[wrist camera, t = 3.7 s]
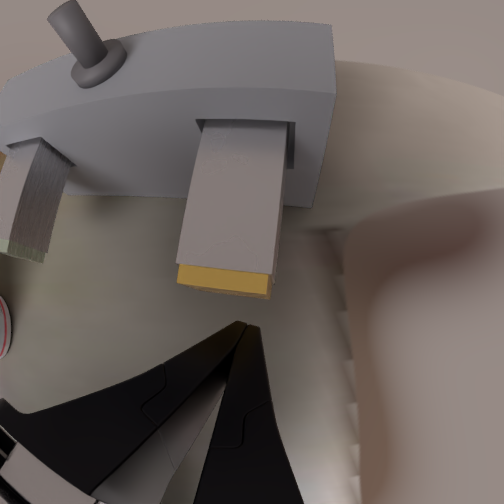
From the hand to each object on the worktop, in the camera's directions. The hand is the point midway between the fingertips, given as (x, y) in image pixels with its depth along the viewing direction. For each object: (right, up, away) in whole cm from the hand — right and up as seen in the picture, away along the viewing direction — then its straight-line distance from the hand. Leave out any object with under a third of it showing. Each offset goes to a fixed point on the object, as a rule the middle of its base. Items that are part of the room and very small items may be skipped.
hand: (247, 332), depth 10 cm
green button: (-12, +6, +4) cm, 14 cm away
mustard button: (0, +5, +3) cm, 5 cm away
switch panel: (-5, +8, +9) cm, 13 cm away
